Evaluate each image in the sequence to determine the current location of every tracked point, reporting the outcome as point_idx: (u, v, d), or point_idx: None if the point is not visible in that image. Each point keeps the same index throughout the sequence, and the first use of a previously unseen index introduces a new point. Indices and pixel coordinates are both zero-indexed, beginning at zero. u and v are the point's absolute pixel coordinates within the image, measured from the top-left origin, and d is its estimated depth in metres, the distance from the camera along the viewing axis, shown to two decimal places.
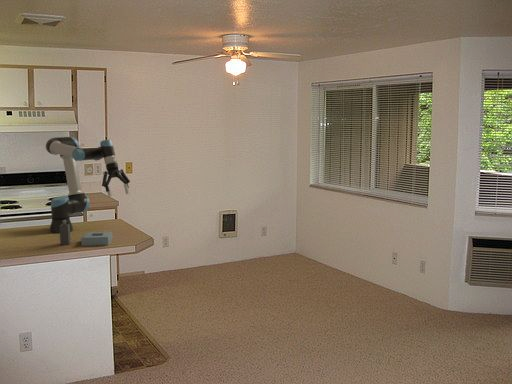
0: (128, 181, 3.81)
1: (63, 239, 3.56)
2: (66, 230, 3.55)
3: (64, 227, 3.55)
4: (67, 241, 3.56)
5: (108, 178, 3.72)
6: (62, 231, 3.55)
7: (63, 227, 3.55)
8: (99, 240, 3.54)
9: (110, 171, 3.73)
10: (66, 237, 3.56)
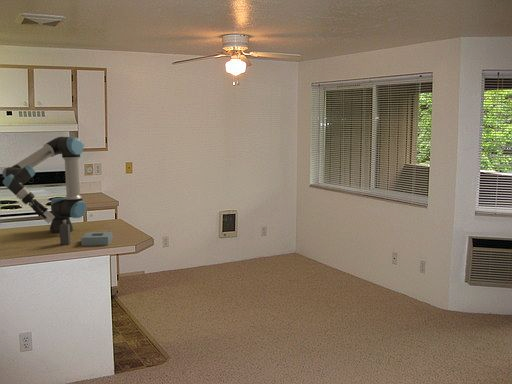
0: (38, 214, 3.46)
1: (63, 239, 3.56)
2: (66, 230, 3.55)
3: (64, 227, 3.55)
4: (67, 241, 3.56)
5: (38, 205, 3.59)
6: (62, 231, 3.55)
7: (63, 227, 3.55)
8: (99, 240, 3.54)
9: None
10: (66, 237, 3.56)
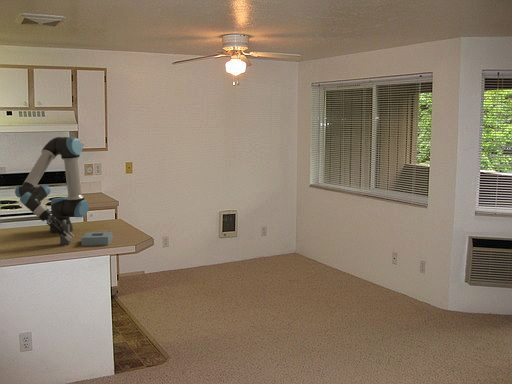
0: (58, 232, 3.53)
1: (63, 239, 3.56)
2: (66, 230, 3.55)
3: (64, 227, 3.55)
4: (67, 241, 3.56)
5: None
6: None
7: (63, 227, 3.55)
8: (99, 240, 3.54)
9: None
10: None
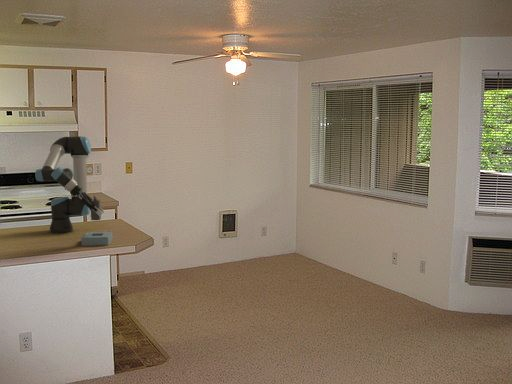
0: (89, 207, 3.54)
1: (93, 214, 3.57)
2: (97, 205, 3.57)
3: (95, 202, 3.56)
4: (98, 216, 3.58)
5: (88, 199, 3.61)
6: None
7: (94, 202, 3.56)
8: (99, 240, 3.54)
9: None
10: None
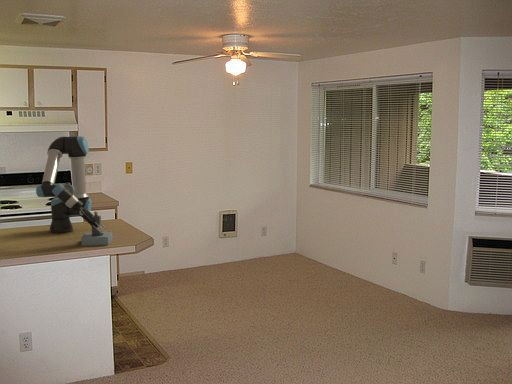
0: (90, 223, 3.55)
1: (94, 231, 3.58)
2: (98, 221, 3.58)
3: (96, 218, 3.57)
4: (98, 232, 3.59)
5: (88, 215, 3.62)
6: None
7: (95, 218, 3.57)
8: (99, 240, 3.54)
9: None
10: None
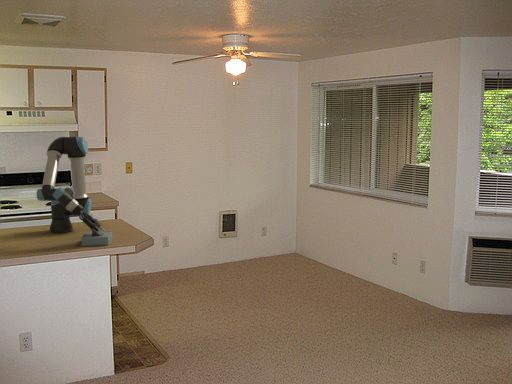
0: (90, 227, 3.55)
1: None
2: None
3: None
4: None
5: (89, 218, 3.63)
6: None
7: None
8: (99, 240, 3.54)
9: None
10: (98, 235, 3.59)
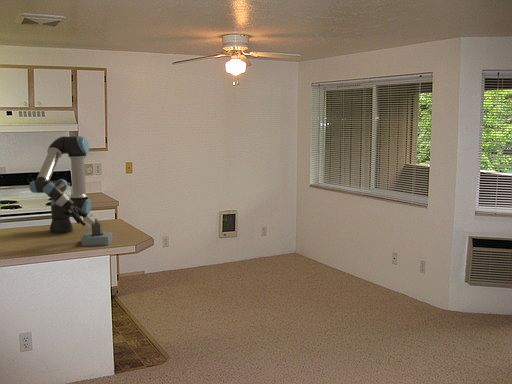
0: None
1: None
2: (98, 229, 3.59)
3: (96, 226, 3.58)
4: None
5: None
6: (94, 230, 3.59)
7: (95, 226, 3.58)
8: (99, 240, 3.54)
9: None
10: None
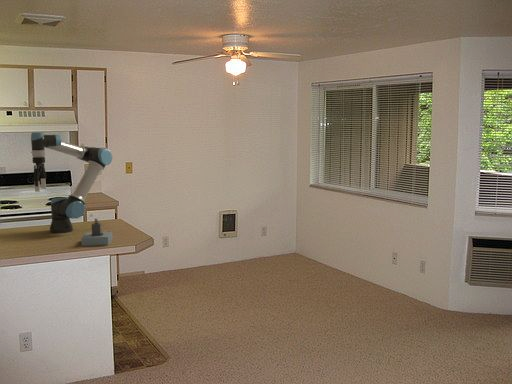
0: None
1: None
2: (98, 229, 3.59)
3: (96, 226, 3.58)
4: None
5: None
6: (94, 230, 3.59)
7: (95, 226, 3.58)
8: (99, 240, 3.54)
9: None
10: (98, 235, 3.59)
